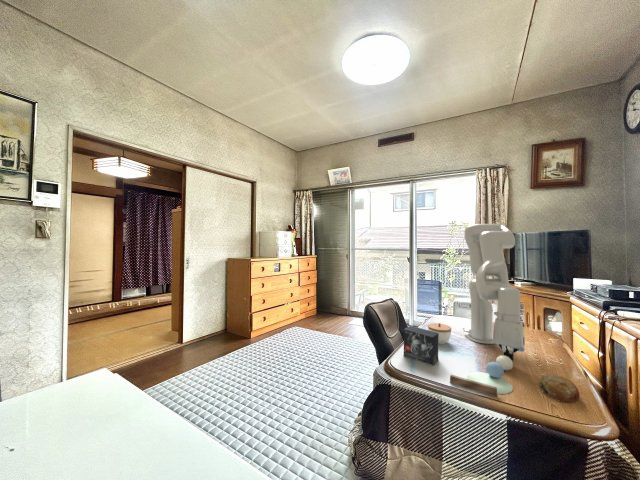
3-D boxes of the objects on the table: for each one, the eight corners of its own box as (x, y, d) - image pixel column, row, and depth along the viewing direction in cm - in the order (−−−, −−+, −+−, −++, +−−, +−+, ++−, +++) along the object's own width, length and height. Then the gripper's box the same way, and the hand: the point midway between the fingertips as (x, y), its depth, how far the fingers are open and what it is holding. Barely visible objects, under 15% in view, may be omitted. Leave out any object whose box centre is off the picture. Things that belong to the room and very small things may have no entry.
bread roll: (536, 396, 92) (527, 376, 92) (560, 382, 93) (551, 363, 93) (565, 415, 82) (555, 393, 82) (591, 400, 83) (582, 378, 83)
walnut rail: (450, 382, 94) (450, 375, 94) (450, 381, 95) (450, 374, 95) (496, 396, 86) (496, 389, 86) (496, 394, 87) (496, 387, 87)
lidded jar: (450, 339, 135) (450, 321, 135) (451, 347, 125) (451, 328, 125) (428, 336, 139) (428, 318, 139) (427, 343, 129) (427, 324, 129)
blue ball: (489, 372, 102) (483, 376, 98) (489, 358, 102) (484, 361, 99) (505, 378, 97) (500, 382, 94) (506, 363, 98) (501, 366, 94)
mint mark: (459, 380, 96) (459, 380, 96) (475, 368, 104) (475, 368, 104) (504, 399, 85) (504, 398, 85) (518, 384, 93) (518, 383, 93)
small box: (402, 355, 116) (403, 329, 116) (409, 351, 121) (409, 325, 121) (432, 365, 107) (433, 336, 107) (439, 360, 112) (439, 332, 112)
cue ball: (499, 352, 108) (497, 366, 107) (495, 353, 105) (493, 367, 104) (515, 357, 104) (514, 372, 103) (511, 358, 100) (510, 373, 100)
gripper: (485, 314, 111) (484, 357, 111) (528, 323, 99) (528, 371, 99) (491, 311, 115) (491, 353, 116) (534, 320, 104) (534, 366, 104)
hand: (508, 361), depth 107 cm, fingers closed
